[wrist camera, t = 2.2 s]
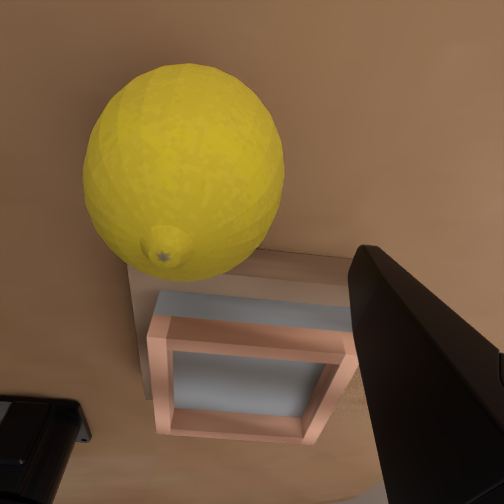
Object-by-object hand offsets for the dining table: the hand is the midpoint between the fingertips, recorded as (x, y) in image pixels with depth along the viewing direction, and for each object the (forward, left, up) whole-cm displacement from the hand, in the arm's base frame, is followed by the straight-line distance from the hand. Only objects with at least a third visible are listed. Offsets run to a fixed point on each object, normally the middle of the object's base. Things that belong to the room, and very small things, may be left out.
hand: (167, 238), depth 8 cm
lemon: (0, 0, -7) cm, 7 cm away
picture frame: (-12, -3, -7) cm, 14 cm away
